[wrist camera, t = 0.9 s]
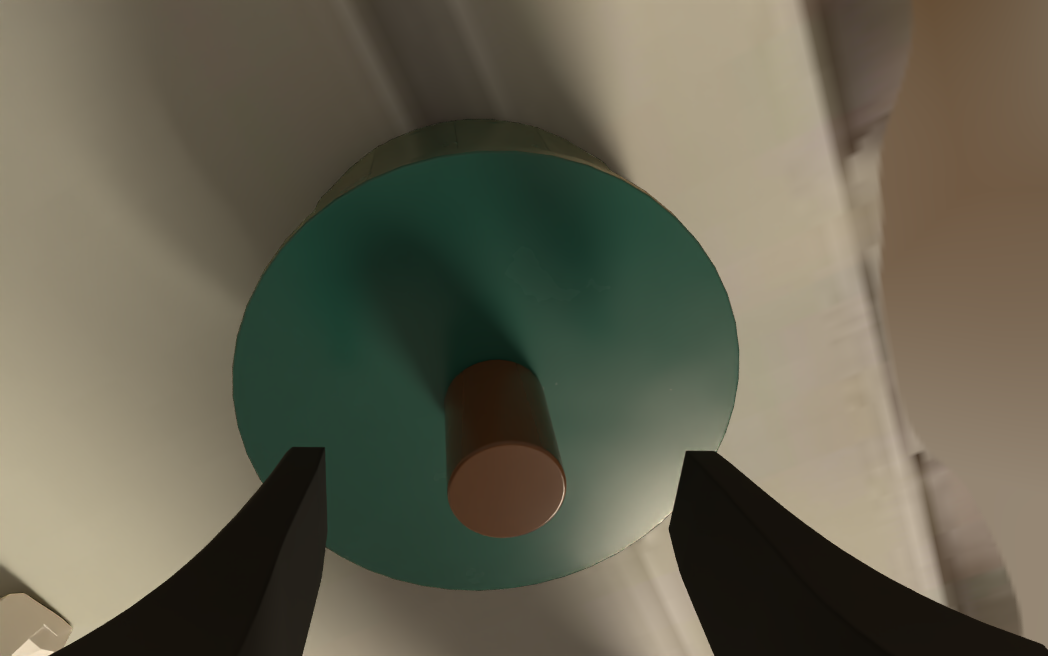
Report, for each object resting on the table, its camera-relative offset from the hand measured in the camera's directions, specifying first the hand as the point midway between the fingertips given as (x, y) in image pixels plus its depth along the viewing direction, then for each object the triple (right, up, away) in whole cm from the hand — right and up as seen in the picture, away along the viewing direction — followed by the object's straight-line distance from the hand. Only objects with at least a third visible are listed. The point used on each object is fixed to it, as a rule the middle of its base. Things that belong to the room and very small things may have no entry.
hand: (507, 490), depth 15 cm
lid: (0, +2, +3) cm, 4 cm away
